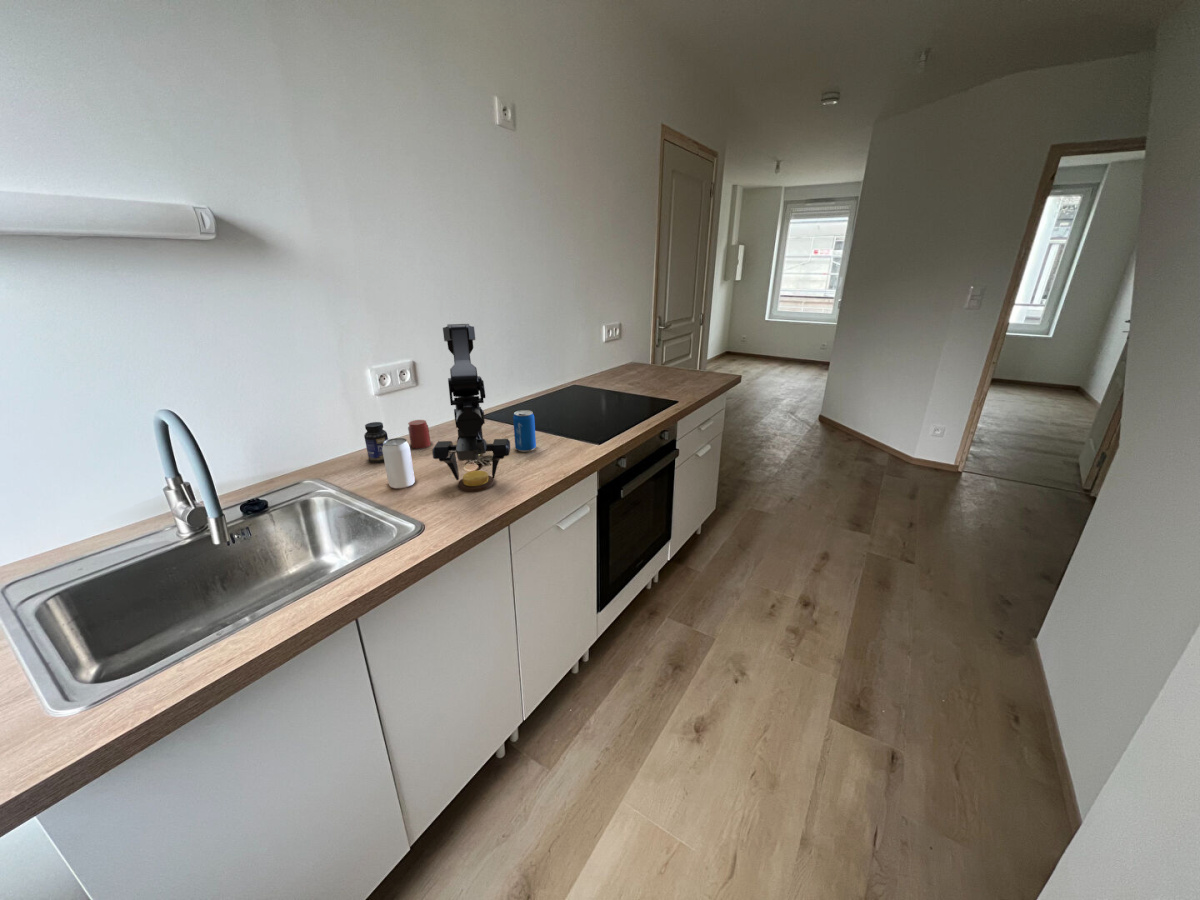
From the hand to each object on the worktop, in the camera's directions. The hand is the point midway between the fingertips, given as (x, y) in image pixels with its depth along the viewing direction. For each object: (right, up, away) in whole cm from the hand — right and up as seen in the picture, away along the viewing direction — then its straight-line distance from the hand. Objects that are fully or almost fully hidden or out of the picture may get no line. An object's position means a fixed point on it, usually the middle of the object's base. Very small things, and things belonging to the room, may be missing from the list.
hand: (475, 478), depth 119 cm
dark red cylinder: (-25, +9, +28) cm, 39 cm away
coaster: (0, -1, +1) cm, 2 cm away
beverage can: (+9, +8, +24) cm, 27 cm away
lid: (0, +1, 0) cm, 1 cm away
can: (-20, -2, +1) cm, 20 cm away
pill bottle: (-33, +5, +17) cm, 38 cm away
